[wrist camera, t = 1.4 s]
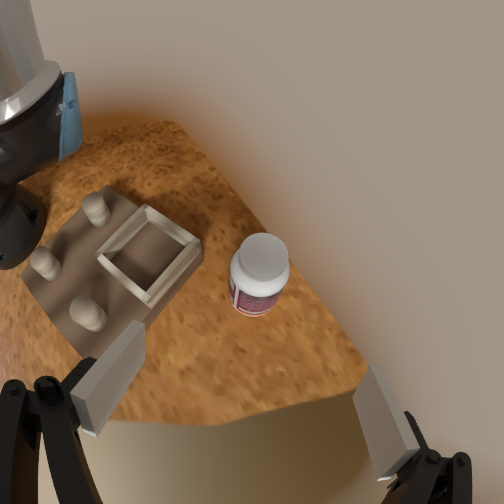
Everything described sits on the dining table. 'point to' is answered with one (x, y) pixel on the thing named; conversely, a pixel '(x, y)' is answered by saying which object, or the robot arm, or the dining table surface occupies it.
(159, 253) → the wooden organizer tray
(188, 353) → the dining table surface
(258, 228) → the dining table surface
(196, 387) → the dining table surface
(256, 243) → the pill bottle
